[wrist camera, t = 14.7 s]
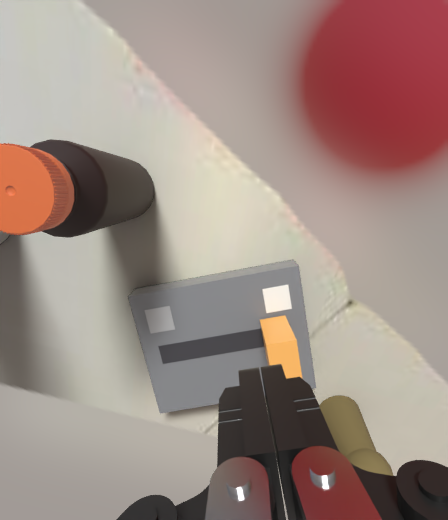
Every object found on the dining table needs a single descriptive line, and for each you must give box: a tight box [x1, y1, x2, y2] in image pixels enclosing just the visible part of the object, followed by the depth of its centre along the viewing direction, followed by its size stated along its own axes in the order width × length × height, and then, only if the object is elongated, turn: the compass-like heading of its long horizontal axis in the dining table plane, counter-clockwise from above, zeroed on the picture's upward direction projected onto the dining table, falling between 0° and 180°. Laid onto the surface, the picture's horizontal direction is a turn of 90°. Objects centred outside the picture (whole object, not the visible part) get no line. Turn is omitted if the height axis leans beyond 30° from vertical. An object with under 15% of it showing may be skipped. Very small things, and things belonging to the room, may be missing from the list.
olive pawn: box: [319, 396, 393, 476], centre depth 38 cm, size 6×6×11 cm
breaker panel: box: [128, 260, 316, 413], centre depth 39 cm, size 20×16×3 cm
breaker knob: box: [260, 315, 302, 379], centre depth 34 cm, size 3×5×6 cm, turn 11°
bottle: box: [0, 140, 154, 237], centre depth 27 cm, size 7×7×20 cm
